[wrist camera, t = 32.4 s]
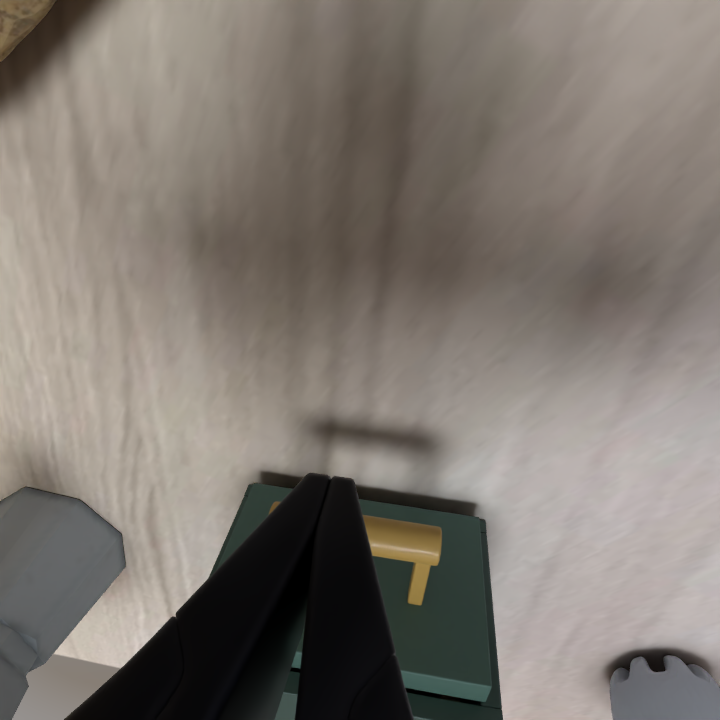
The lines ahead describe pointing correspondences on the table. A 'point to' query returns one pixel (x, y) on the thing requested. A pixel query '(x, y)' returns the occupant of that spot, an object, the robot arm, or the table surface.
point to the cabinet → (429, 713)
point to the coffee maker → (47, 580)
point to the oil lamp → (19, 21)
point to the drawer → (416, 591)
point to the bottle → (664, 692)
